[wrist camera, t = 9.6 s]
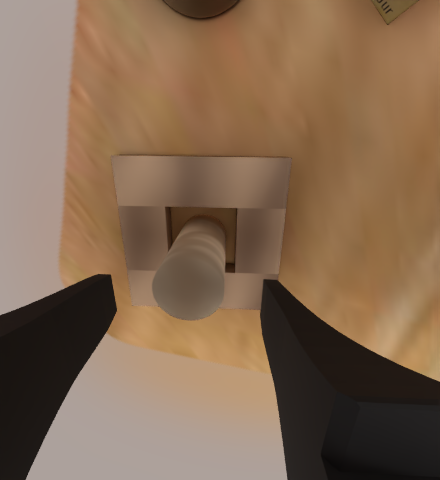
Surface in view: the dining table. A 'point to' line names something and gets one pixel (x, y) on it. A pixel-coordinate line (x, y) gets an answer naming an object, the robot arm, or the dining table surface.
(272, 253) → the socket block
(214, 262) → the peg
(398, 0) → the shoe polish box
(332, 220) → the dining table surface
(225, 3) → the supplement bottle
